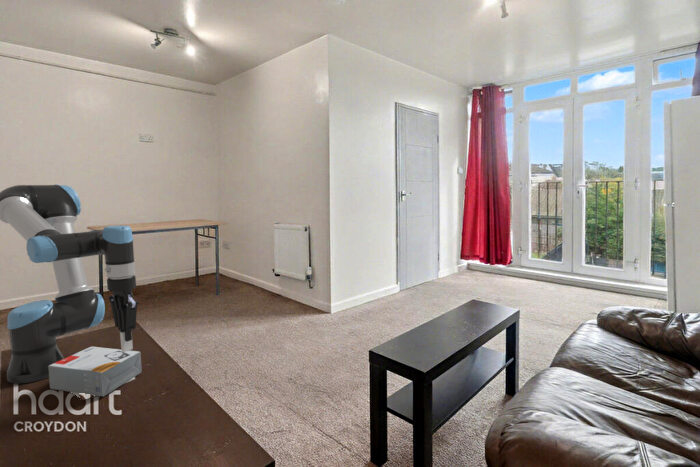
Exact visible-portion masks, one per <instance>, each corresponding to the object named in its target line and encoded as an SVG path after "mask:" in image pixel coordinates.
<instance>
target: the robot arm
mask: <svg viewBox="0 0 700 467" xmlns="http://www.w3.org/2000/svg"><path fill="white" fill-rule="evenodd" d="M81 204H82V203H81V200H80V196H79V195H78V193H77V191H76V190H75V189H74V188H72V187H71V186H69V185H64V184H63V185H62V184H61V185H60V184H33V185H32V184H29V185H28V184H27V185H26V184H18V185H12V186H9V187H7V188H5V189H3V190H2V191H0V221H1V222H4V223H5V224H8V225H10V226H11V227H12V228H13V229H14V230H15V231H16V232H17V233H18V234H19V235H20V236H21V237H22V238H23V239H24V240H25V241H26V253H27V256H28V258H29V261H31V262H32V263H35V264H40V263H42V264H43V263H52V267H53V270H54V276H55V280H56V284H57V289H58V293H57V294H56V295H55V297H54V300H55V302H52V301H51V300H49V299H45V300H44V299H42V300H36V301H35V300H34V301H31V302H28V303H25V304H21V305H20V306H19V305H18V306H16V307H15V308H13V309H12V310H10V311H9V313H8V314H7V325H6V327H7V329H8V337H9V338H8V339H9V345H10V351H11V358H10V360H9V364H8V367H7V371H6V380H7V382H9V383H11V384H27V383H33V382H37V381H41V380H42V381H43V380H44V379H49V373H48V366H49V365H52V364H54V363H56V362H58V361H60V360H62V359H65V357H64V356H63V354H62V352H61V350H60V349H59V347H58V344H57V337H61V336H65V335H69V334H73V333H75V332H80V331H83V330H88V329H90V328H92V327H94V326H99V324H100V323H101V322H102V321H103V320H104V317H105V312H106V311H105V310H106V307H105V300H104V298H103V296H102V295H101V294H100V293H96V292H95V289H94V288H93V287H91V286H90V285H88V280H87V276H86V272H85V267H84V264H83V259H82V258H86V257H93V256H94V257H95V256H101V255H103V256H104V260H105V261H104V263H105V268H104V271H105V272H106V277H108V278H107V279H106V282H107V283H106V284H107V286H106V287H107V291H109V292H112V295H110V296H108V300H109V303H110V305H111V306H110V307H111V311H112V315H113V320H114V326H115V327H116V328H118V330H119V336H120V338H119V339H120V348H121V349H120V350H121V351H123V352H126V351H132V350H133V348H134V347H133V333H132V330H135V329H136V327H137V311H138V309H137V308H138V305H139V301H138V300H135V299H133V298H134V294H133V289H135V288H136V287H137V280H136V279H137V277H136V264H135V262H136V261H135V253H134V251H135V250H134V236H133V231H132V227H131V226H129V225H118V224H117V225H108V226H105V227H103V229H92V230H90V231H84V232H83V231H81V232H76V228H75V225H74V224H75V222H76V221H77V220H78V217H77V216H78V215H80V214H81V211H82V207H81V206H82V205H81Z"/></svg>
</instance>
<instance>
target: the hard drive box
mask: <svg viewBox="0 0 700 467" xmlns="http://www.w3.org/2000/svg"><path fill="white" fill-rule="evenodd" d="M141 354H142V353H141V351H137V350H129V351H126V352H123V351H121V349H119V348H111V347H110V348H107V347H100V346H99V347H98V346H89V347H87V348H84V349H83V350H81V351H78V352H76V353H74V354H72V355H69V356H67V357H64V359H62V360H60V361H58V362H56V363H54V364H52V365H49V366H48V373H49V377H48V381H49V388H50V390H55V391H56V390H57V391H63V392H64V391H65V392H69V391H70V392H77V393H85V394H90V395H96V396H98V397H105V396H107V395H109V394H110V393H112V392H113V391H115V390H117V389H118V388H119V387H121V386H123V385H125V384H127V383H128V382H127V381H129V380H130V379H132V378H134V377H135V378H136V376H138V375H140V374H141V373H142V371H143V370H142V358H141ZM126 382H127V383H126ZM124 383H125V384H124ZM70 392H69V393H70Z"/></svg>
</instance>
